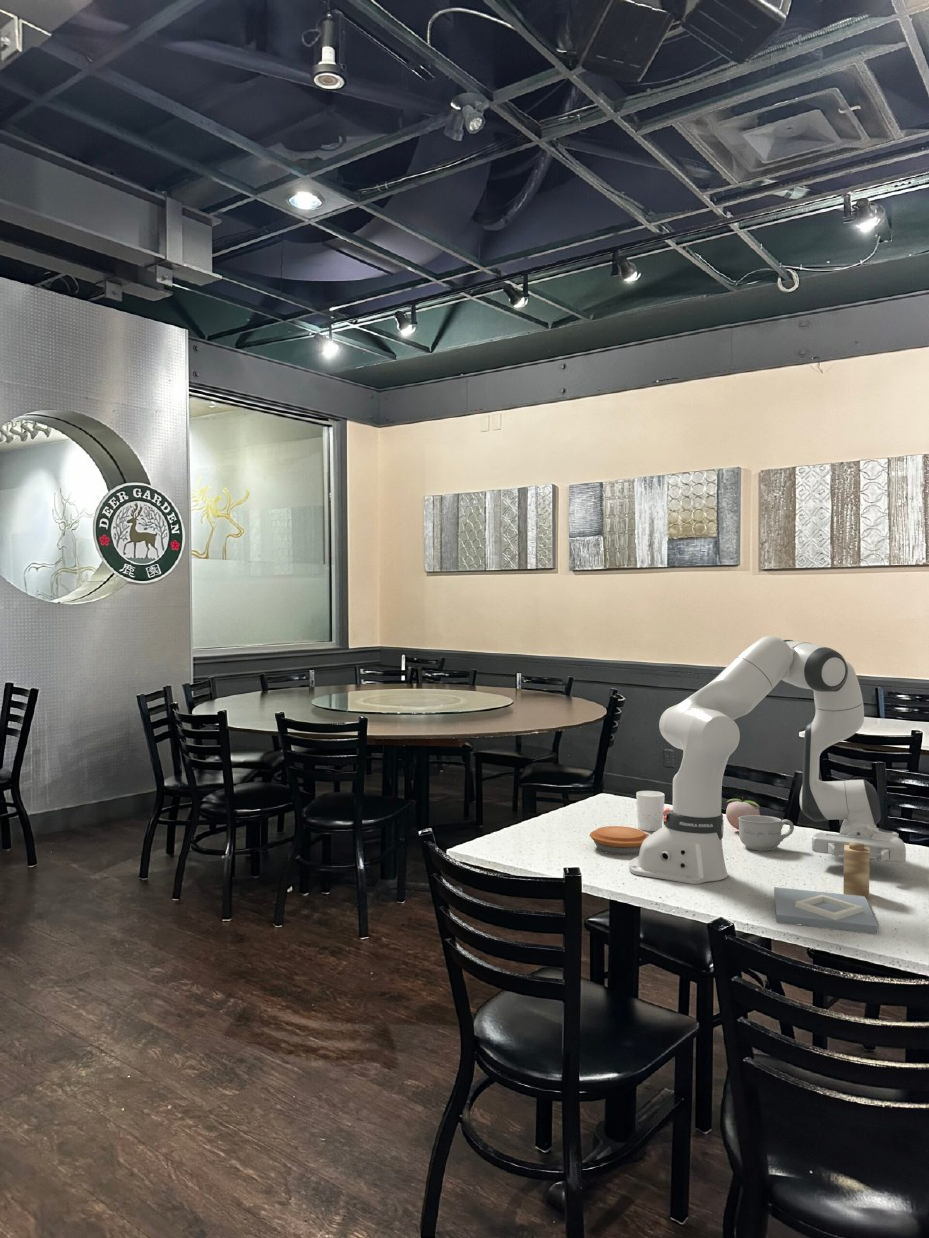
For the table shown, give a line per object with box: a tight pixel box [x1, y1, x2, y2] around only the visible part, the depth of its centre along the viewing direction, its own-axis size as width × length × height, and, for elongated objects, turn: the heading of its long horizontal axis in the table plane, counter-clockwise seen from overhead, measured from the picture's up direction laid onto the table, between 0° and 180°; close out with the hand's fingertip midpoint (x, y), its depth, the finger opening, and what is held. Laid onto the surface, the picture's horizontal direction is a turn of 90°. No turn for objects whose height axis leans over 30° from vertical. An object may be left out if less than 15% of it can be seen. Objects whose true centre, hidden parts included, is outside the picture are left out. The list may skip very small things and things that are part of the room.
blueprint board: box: [773, 886, 878, 935], centre depth 173 cm, size 18×18×2 cm
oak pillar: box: [842, 842, 870, 901], centre depth 185 cm, size 5×5×11 cm
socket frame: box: [795, 895, 863, 920], centre depth 171 cm, size 9×9×1 cm
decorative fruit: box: [725, 796, 761, 831], centre depth 239 cm, size 9×8×10 cm
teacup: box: [738, 815, 795, 852], centre depth 222 cm, size 14×11×8 cm
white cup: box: [635, 790, 666, 832], centre depth 243 cm, size 8×8×10 cm
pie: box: [589, 825, 650, 856], centre depth 221 cm, size 16×16×5 cm
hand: (857, 854), depth 196 cm, fingers open, 8 cm apart
